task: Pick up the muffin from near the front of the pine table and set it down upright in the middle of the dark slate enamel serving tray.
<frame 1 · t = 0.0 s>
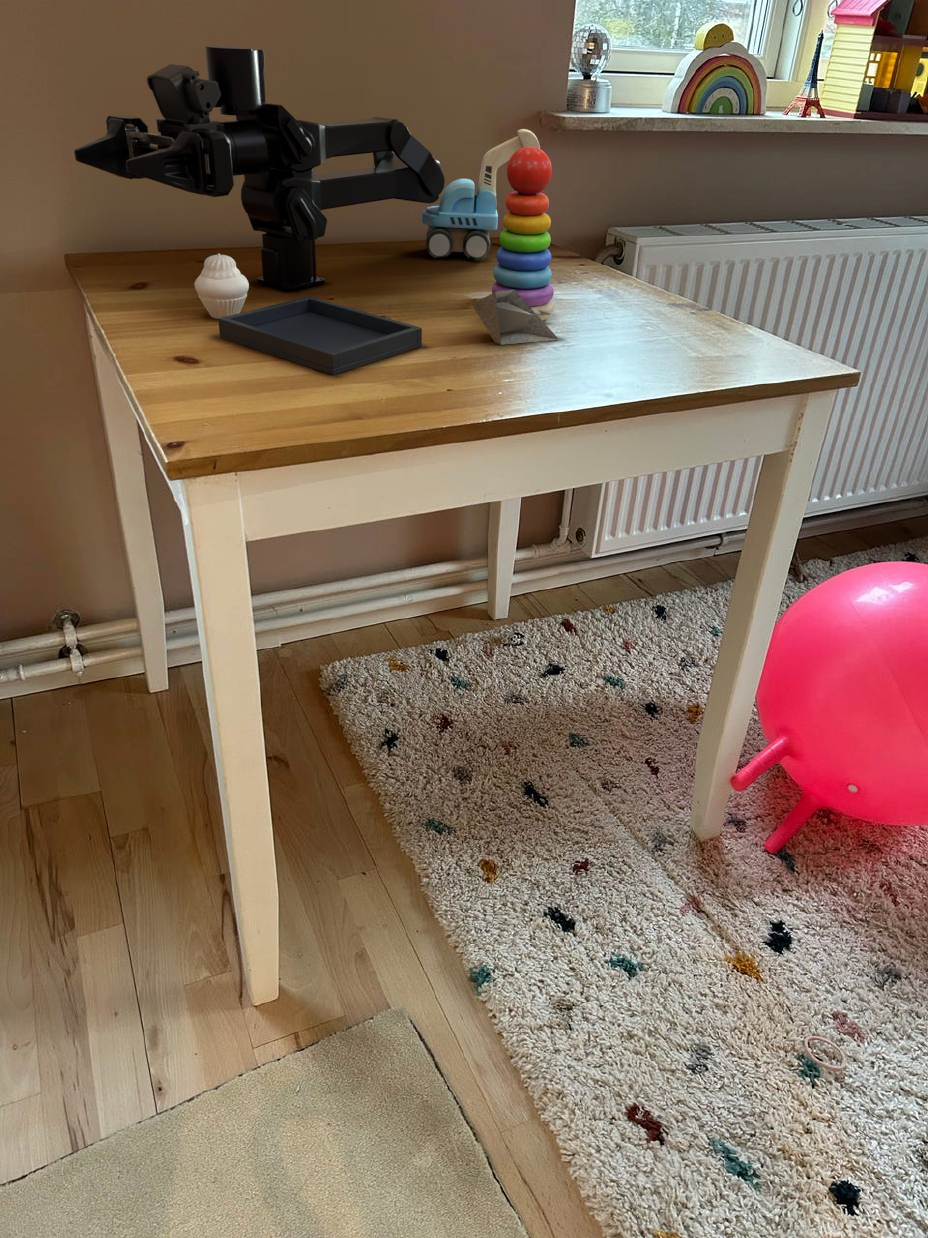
hand: (100, 160, 99), 17 cm above the table, tool horizontal, fingers open, 9 cm apart
muffin: (224, 317, 112), on the table
paper boat: (511, 345, 107), on the table
toy excavator: (476, 256, 144), on the table
tray: (320, 342, 104), on the table
stacking toy: (520, 317, 117), on the table
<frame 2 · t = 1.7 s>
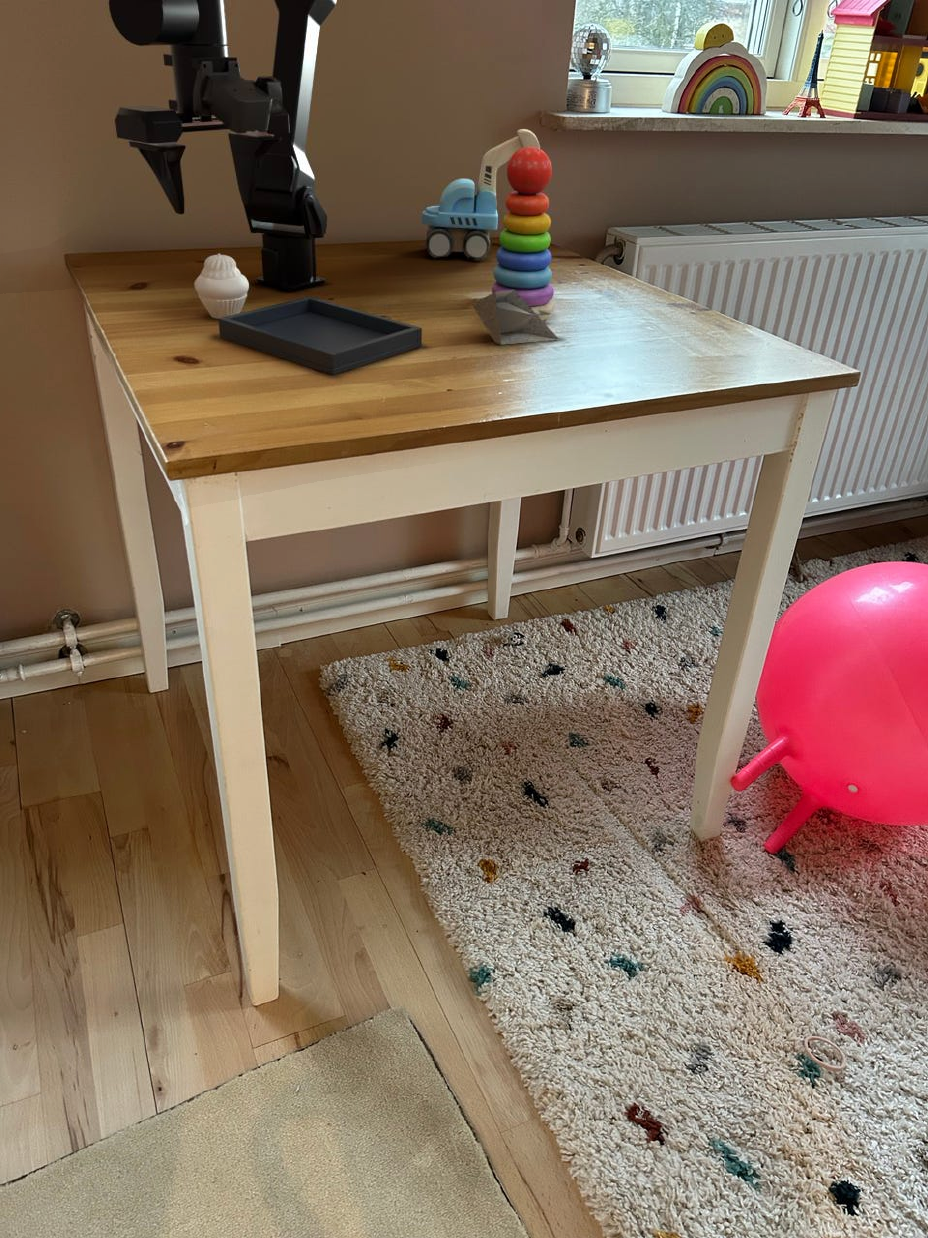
hand: (214, 208, 105), 12 cm above the table, tool pointing down, fingers open, 9 cm apart
nothing on the table moved.
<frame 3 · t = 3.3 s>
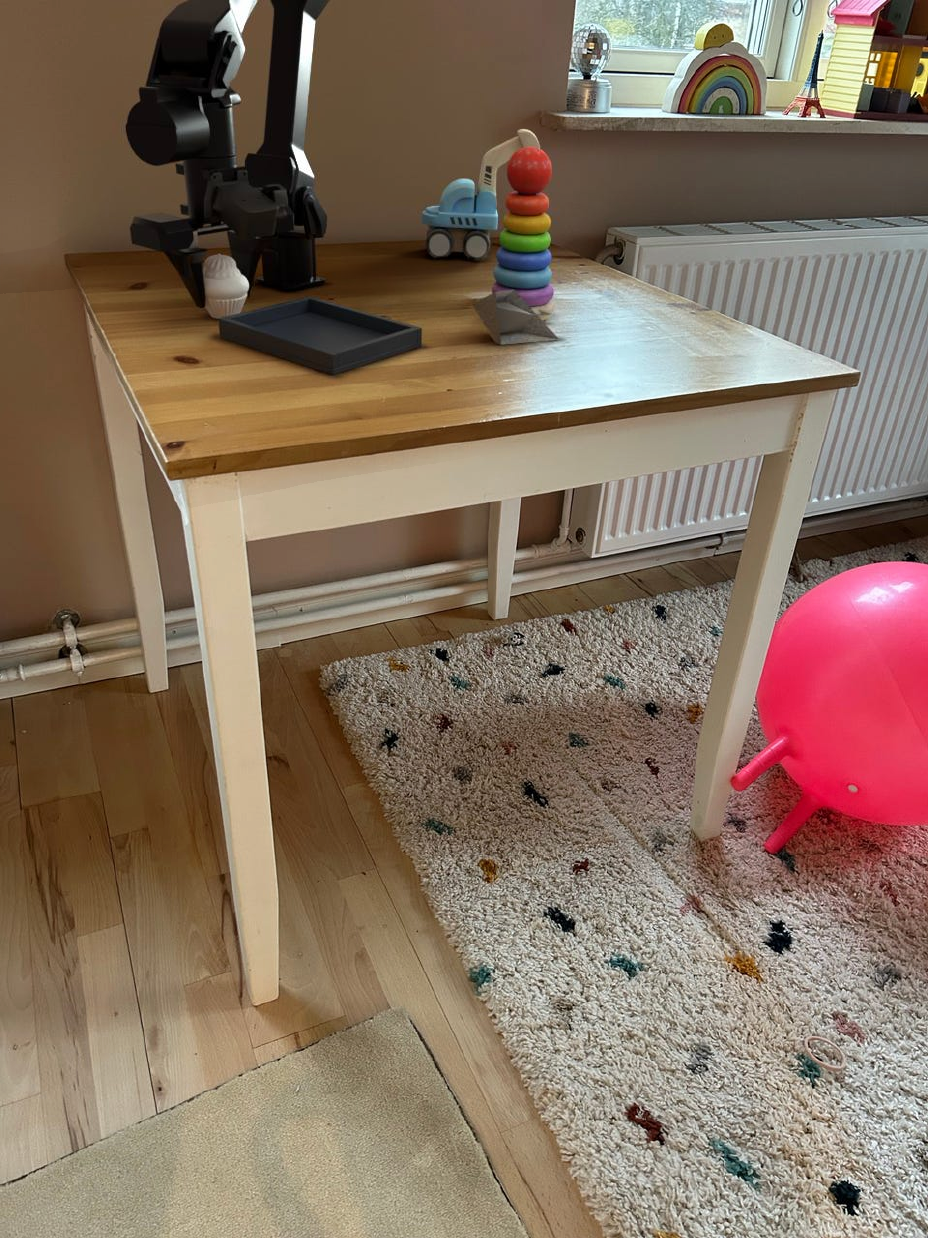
hand: (223, 302, 111), 2 cm above the table, tool pointing down, fingers closed on muffin, 6 cm apart
muffin: (224, 317, 112), on the table, touching gripper
everything else where it was.
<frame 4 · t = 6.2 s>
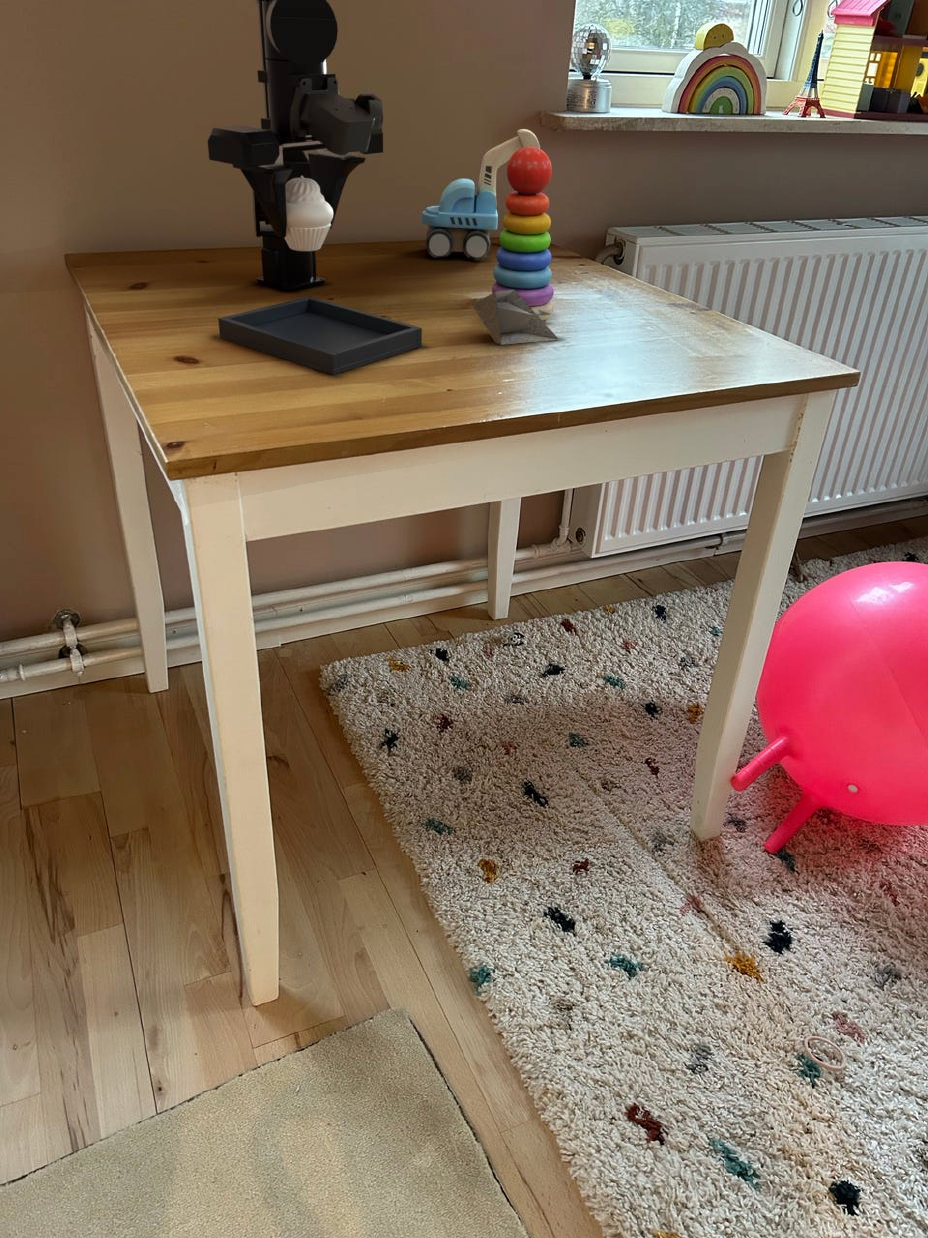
hand: (304, 232, 99), 11 cm above the table, tool pointing down, fingers closed on muffin, 6 cm apart
muffin: (305, 249, 100), point 9 cm above the table, touching gripper
everything else where it was.
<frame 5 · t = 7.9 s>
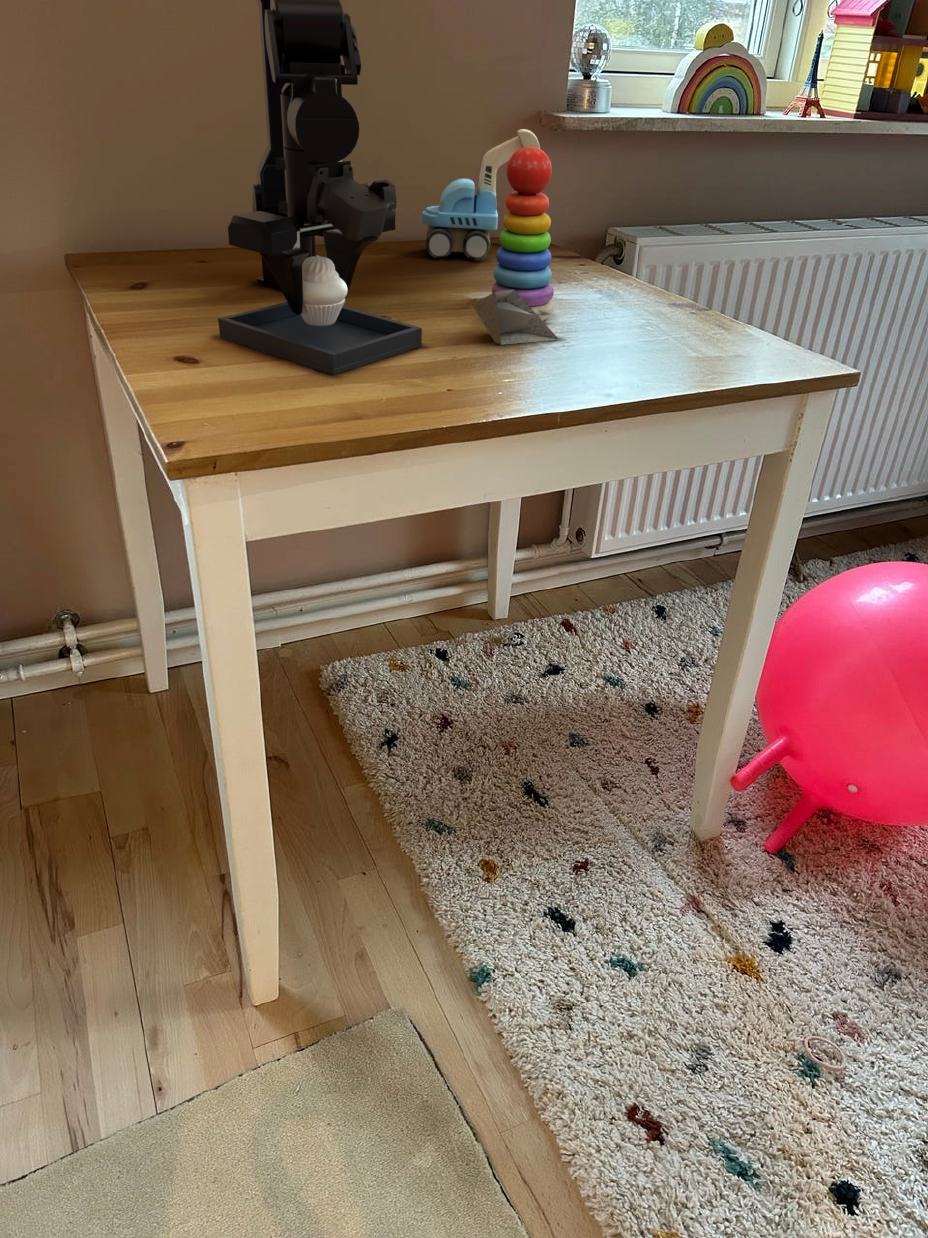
hand: (319, 307, 103), 4 cm above the table, tool pointing down, fingers closed on muffin, 6 cm apart
muffin: (320, 323, 104), point 2 cm above the table, touching gripper
everything else where it was.
when the fingers open (2 cm above the table, at t = 8.9 s): muffin stays where it is, resting on tray.
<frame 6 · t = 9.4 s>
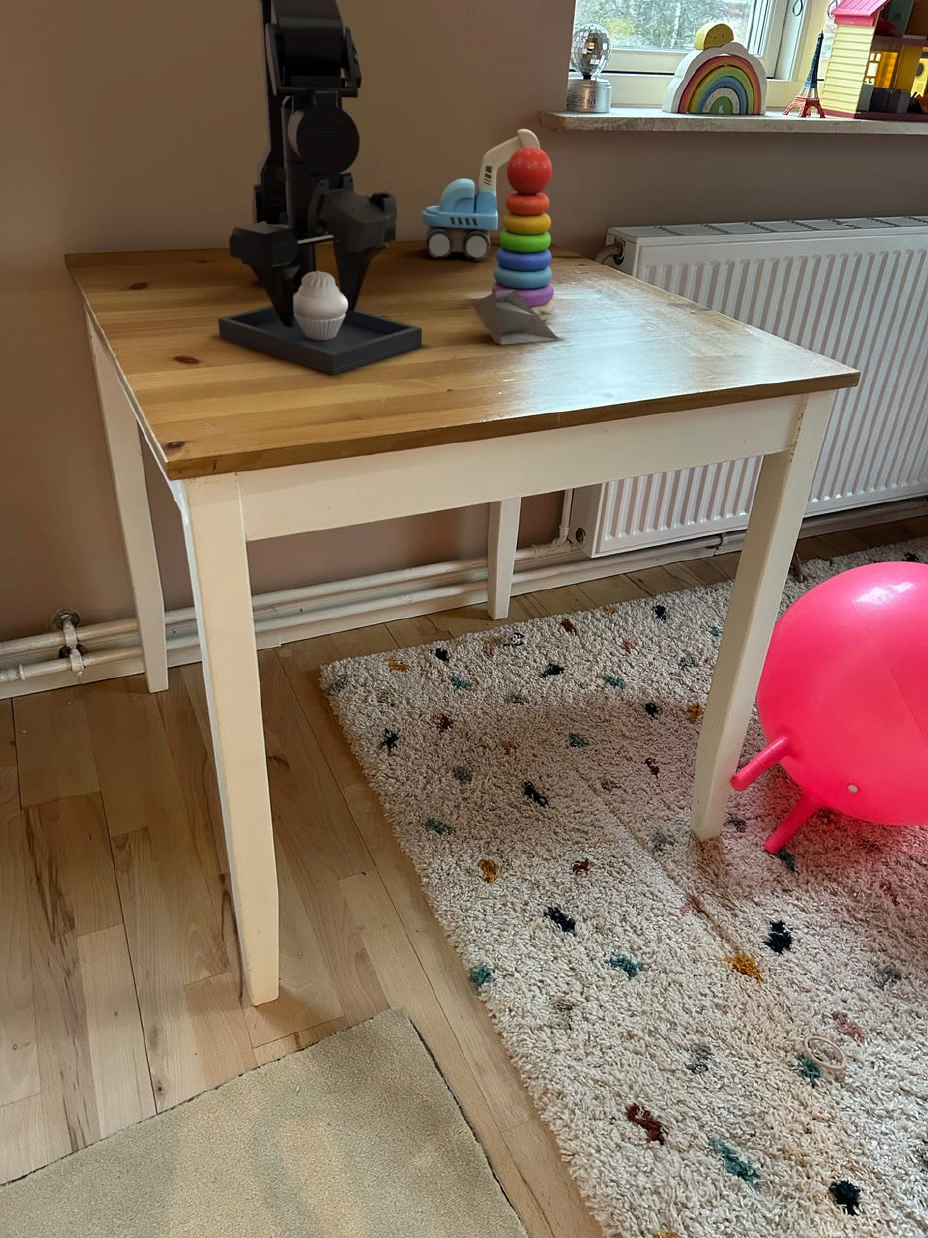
hand: (320, 318, 103), 3 cm above the table, tool pointing down, fingers open, 9 cm apart
muffin: (320, 337, 104), resting on tray
everything else where it was.
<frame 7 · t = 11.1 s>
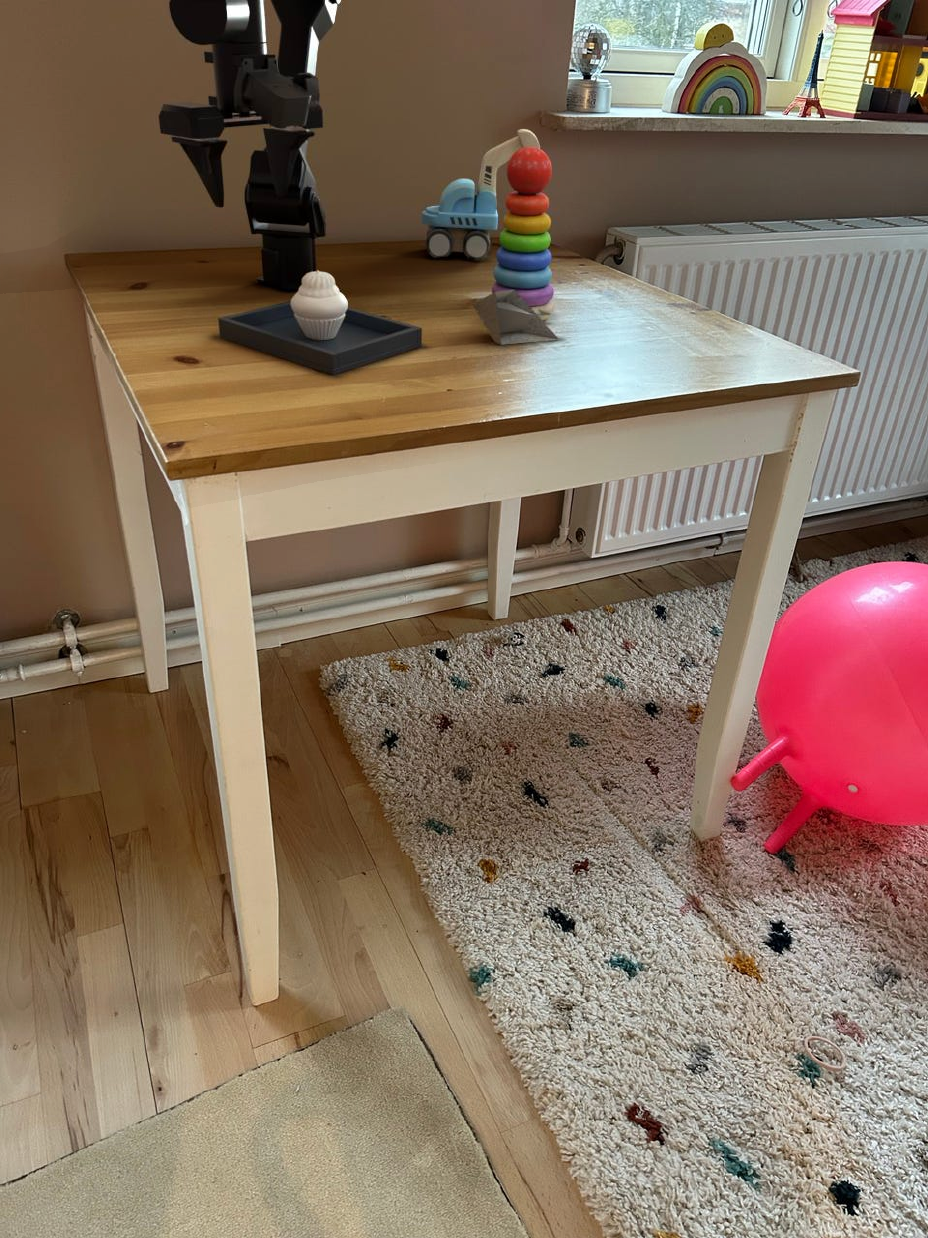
hand: (251, 201, 108), 12 cm above the table, tool pointing down, fingers open, 9 cm apart
nothing on the table moved.
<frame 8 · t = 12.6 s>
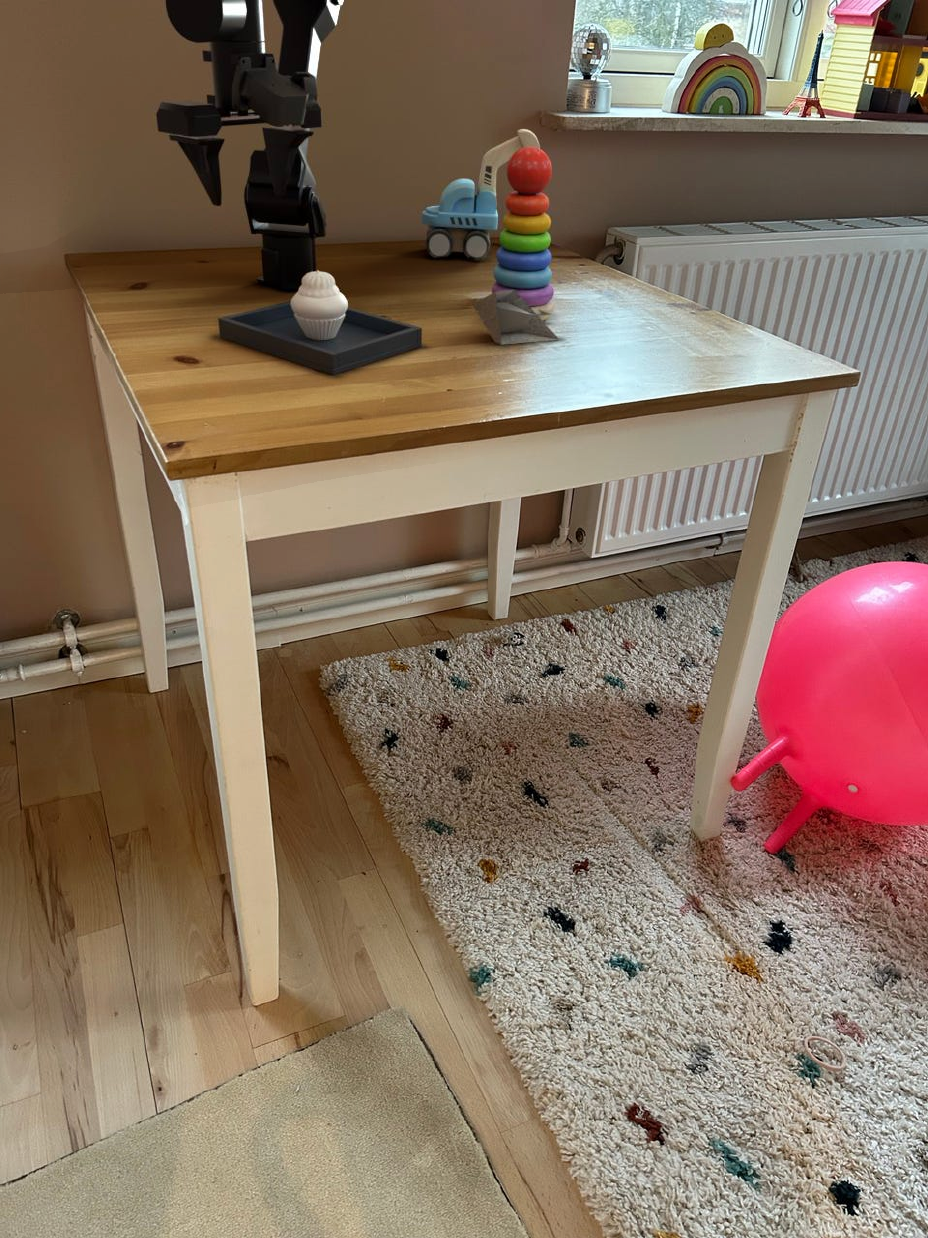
hand: (249, 200, 108), 12 cm above the table, tool pointing down, fingers open, 9 cm apart
nothing on the table moved.
at the end: muffin inside the target area in the tray (0.1 cm from its centre), point 0.4 cm above the tray's base; muffin tilted 0°; the gripper is holding nothing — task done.
